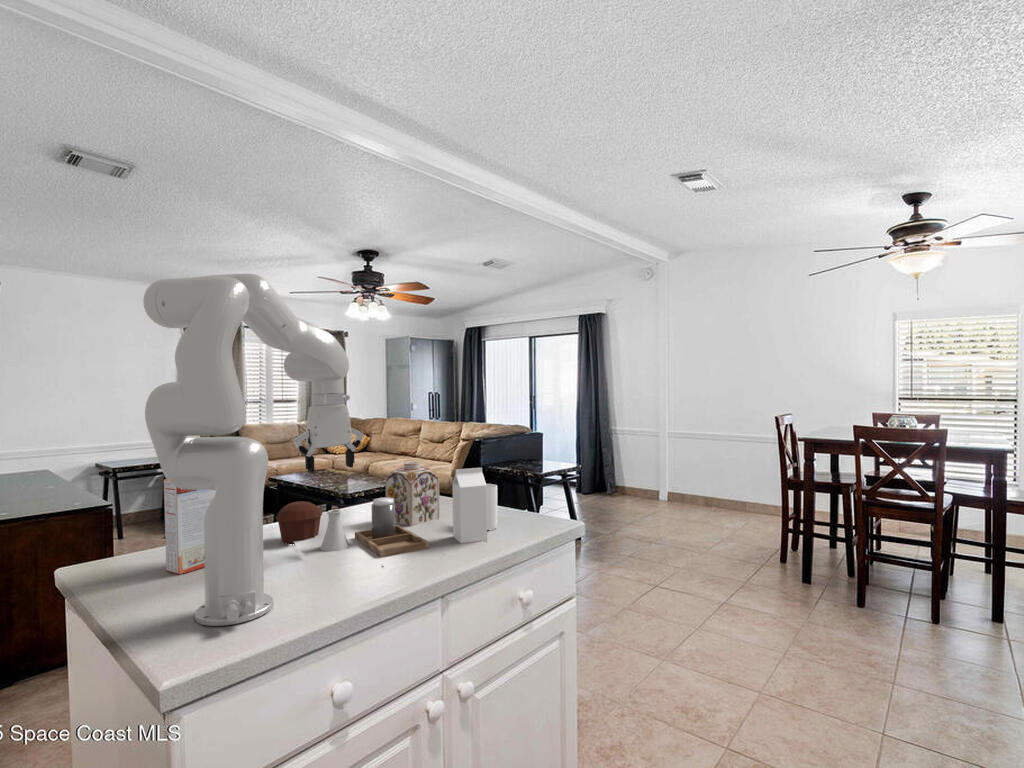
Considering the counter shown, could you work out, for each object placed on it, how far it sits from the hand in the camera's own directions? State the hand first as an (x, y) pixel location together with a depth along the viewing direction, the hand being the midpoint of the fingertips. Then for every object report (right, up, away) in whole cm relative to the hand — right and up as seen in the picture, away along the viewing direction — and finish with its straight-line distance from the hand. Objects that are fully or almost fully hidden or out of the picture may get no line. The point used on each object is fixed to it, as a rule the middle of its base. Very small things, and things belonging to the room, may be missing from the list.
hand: (330, 469), depth 135 cm
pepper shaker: (+12, -19, +6) cm, 23 cm away
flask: (+1, -20, 0) cm, 20 cm away
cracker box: (-27, -21, -9) cm, 35 cm away
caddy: (+14, -20, +2) cm, 25 cm away
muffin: (-12, -21, +10) cm, 26 cm away
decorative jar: (+16, -20, +27) cm, 37 cm away
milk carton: (+34, -20, +6) cm, 40 cm away
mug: (+37, -20, +20) cm, 46 cm away
